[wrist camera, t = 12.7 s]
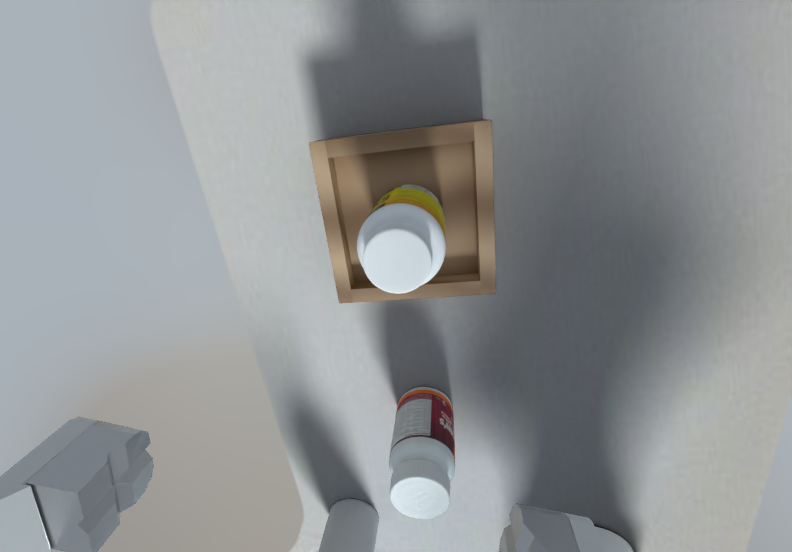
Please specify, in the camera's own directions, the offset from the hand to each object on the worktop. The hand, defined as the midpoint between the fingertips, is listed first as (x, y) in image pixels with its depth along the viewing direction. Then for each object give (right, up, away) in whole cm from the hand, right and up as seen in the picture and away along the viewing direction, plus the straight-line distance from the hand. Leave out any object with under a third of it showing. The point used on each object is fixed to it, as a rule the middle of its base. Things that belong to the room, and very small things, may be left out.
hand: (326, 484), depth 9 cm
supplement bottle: (+3, +9, +23) cm, 25 cm away
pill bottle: (+5, -10, +35) cm, 37 cm away
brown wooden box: (+3, +11, +26) cm, 29 cm away
